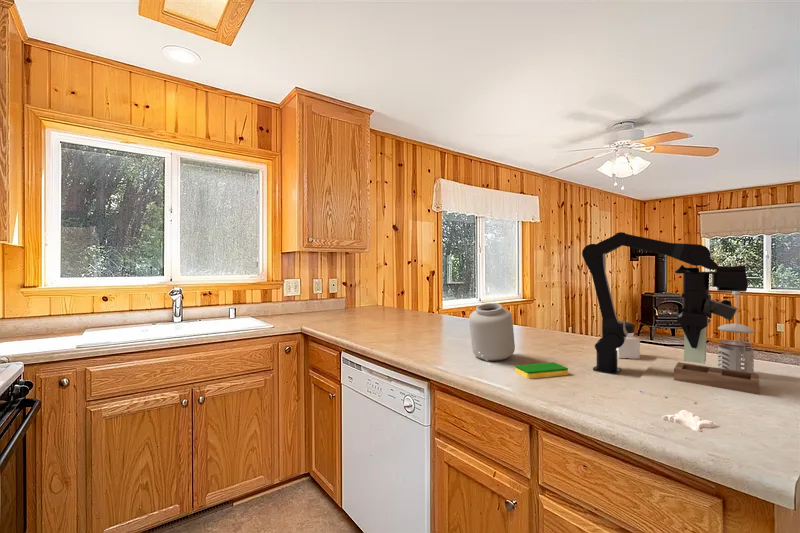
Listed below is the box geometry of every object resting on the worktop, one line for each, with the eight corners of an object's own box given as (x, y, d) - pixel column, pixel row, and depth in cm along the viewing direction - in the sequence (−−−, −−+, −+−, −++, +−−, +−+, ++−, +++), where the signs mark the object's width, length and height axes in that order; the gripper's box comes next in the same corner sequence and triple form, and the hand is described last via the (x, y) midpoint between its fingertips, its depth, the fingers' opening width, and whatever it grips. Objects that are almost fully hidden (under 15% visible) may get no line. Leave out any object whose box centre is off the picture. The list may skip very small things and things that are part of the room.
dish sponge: (514, 373, 115) (514, 365, 115) (553, 369, 119) (553, 361, 119) (528, 380, 108) (528, 371, 108) (568, 376, 112) (568, 368, 112)
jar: (499, 368, 119) (498, 289, 118) (458, 360, 128) (458, 287, 128) (521, 356, 134) (521, 286, 133) (483, 349, 143) (483, 284, 142)
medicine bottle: (629, 353, 135) (629, 320, 135) (640, 359, 128) (640, 324, 128) (608, 353, 136) (608, 320, 136) (618, 358, 129) (618, 324, 128)
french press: (747, 372, 112) (748, 289, 112) (770, 384, 101) (771, 292, 101) (707, 369, 115) (708, 288, 115) (726, 381, 105) (726, 292, 104)
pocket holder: (759, 398, 92) (759, 382, 91) (673, 383, 103) (673, 369, 103) (758, 389, 98) (758, 374, 98) (678, 375, 110) (678, 362, 110)
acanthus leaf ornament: (661, 422, 81) (661, 413, 81) (678, 416, 84) (679, 407, 84) (702, 436, 74) (702, 427, 74) (719, 429, 77) (719, 419, 77)
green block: (704, 363, 100) (704, 326, 100) (684, 360, 103) (684, 324, 103) (705, 360, 104) (706, 324, 103) (685, 357, 107) (686, 322, 106)
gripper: (734, 294, 91) (733, 358, 91) (735, 289, 104) (734, 345, 105) (677, 291, 98) (676, 350, 99) (685, 287, 112) (685, 339, 112)
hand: (695, 346), depth 103 cm, fingers closed on green block, 4 cm apart
